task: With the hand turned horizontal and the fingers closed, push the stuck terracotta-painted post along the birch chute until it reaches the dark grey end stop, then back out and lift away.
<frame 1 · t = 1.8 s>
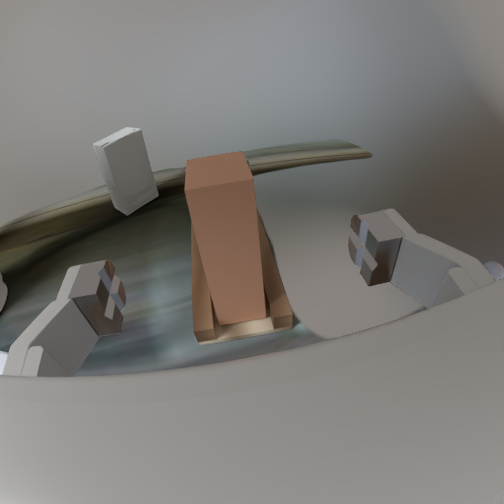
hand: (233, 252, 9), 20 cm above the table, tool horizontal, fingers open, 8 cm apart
chute: (231, 260, 40), on the table
post: (229, 245, 28), point 9 cm above the table, slide at 0.0 cm
skincare box: (136, 204, 56), on the table
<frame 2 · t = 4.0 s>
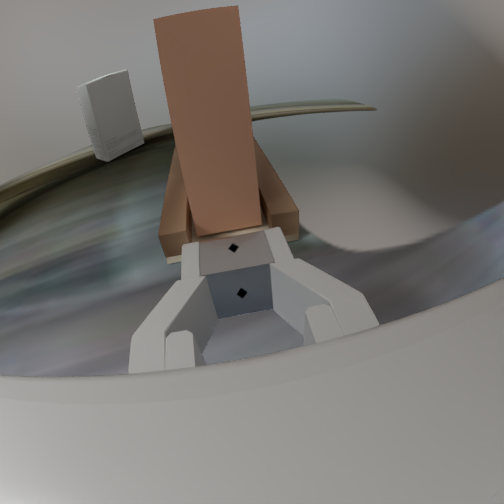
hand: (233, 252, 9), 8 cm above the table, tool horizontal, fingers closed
chute: (220, 181, 32), on the table
post: (210, 119, 20), point 9 cm above the table, slide at 0.0 cm
skincare box: (120, 153, 48), on the table
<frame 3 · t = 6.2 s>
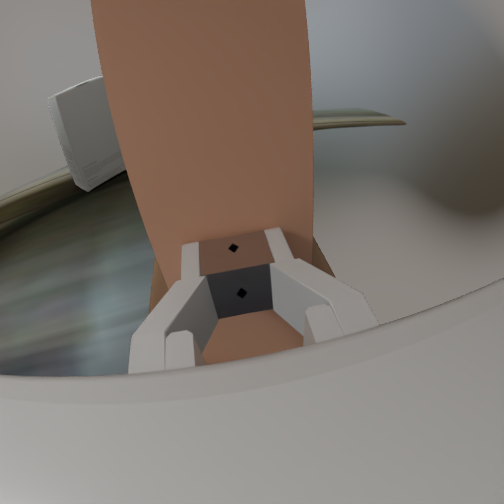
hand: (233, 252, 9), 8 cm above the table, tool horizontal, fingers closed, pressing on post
chute: (231, 243, 23), on the table
post: (223, 183, 11), point 9 cm above the table, slide at 0.0 cm, touching gripper
skincare box: (103, 178, 39), on the table
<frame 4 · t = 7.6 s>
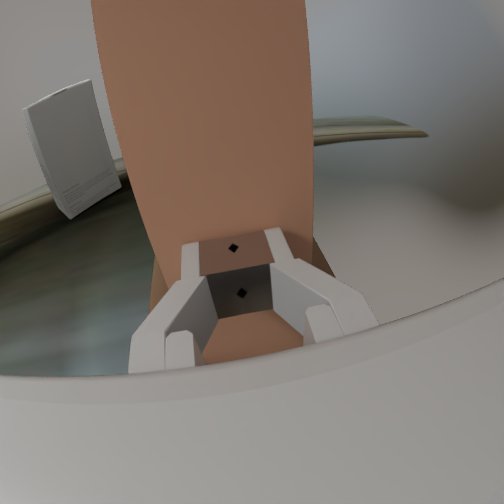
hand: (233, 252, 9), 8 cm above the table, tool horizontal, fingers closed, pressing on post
chute: (245, 315, 17), on the table
post: (223, 183, 11), point 9 cm above the table, slide at 7.2 cm, touching gripper
skincare box: (88, 201, 33), on the table
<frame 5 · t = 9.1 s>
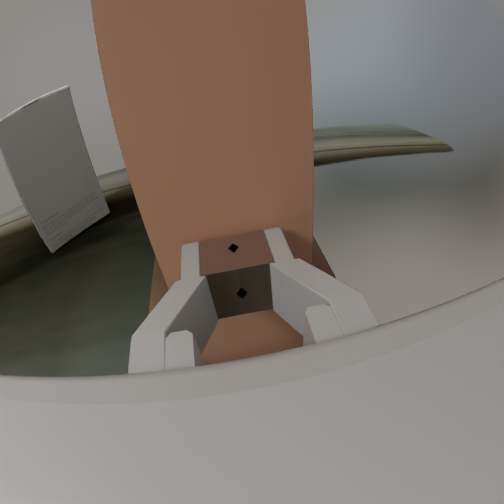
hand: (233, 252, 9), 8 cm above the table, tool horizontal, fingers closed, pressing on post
chute: (267, 417, 12), on the table
post: (223, 183, 11), point 9 cm above the table, slide at 13.7 cm, touching gripper
skincare box: (73, 229, 28), on the table
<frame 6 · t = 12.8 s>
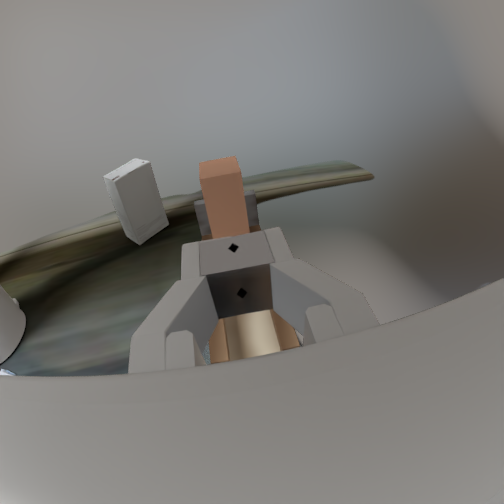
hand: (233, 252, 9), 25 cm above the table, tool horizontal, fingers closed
chute: (242, 292, 43), on the table
post: (228, 218, 42), point 9 cm above the table, slide at 13.9 cm
skincare box: (147, 232, 59), on the table
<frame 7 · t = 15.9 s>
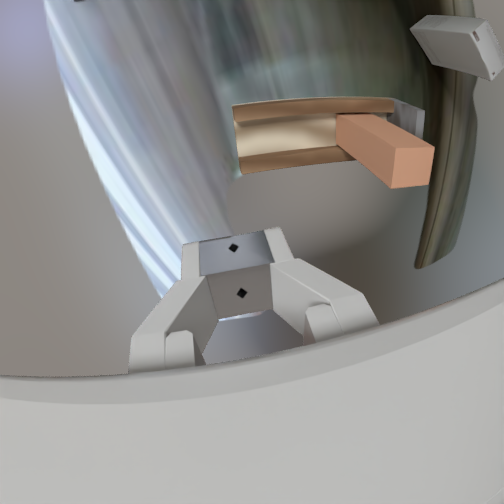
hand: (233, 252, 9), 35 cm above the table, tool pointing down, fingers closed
chute: (316, 128, 42), on the table
post: (379, 143, 36), point 9 cm above the table, slide at 13.9 cm
skincare box: (427, 38, 33), on the table
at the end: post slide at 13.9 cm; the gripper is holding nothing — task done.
